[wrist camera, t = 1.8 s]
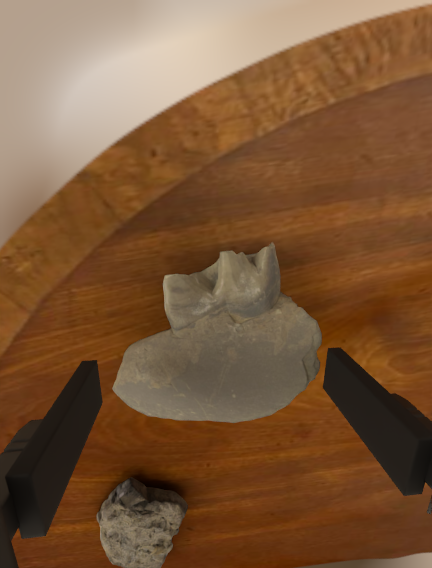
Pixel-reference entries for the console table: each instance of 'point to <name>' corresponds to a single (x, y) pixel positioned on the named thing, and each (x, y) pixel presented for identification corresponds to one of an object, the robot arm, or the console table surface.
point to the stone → (139, 524)
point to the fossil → (223, 346)
